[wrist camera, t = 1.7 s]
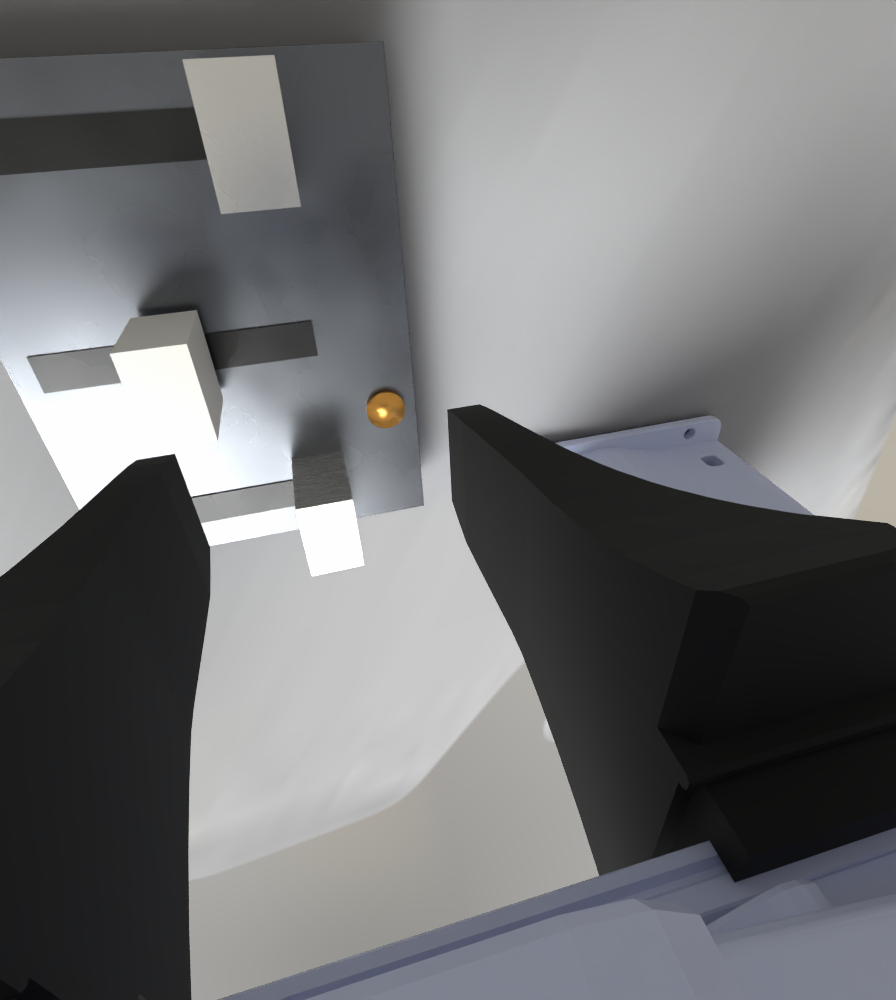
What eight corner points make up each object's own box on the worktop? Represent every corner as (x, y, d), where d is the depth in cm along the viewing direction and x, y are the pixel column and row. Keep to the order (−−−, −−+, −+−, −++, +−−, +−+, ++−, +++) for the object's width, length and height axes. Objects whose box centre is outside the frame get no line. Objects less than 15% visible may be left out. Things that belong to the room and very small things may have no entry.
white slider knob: (196, 309, 15) (186, 344, 13) (223, 398, 16) (217, 441, 14) (130, 318, 15) (110, 354, 13) (163, 407, 16) (149, 452, 14)
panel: (370, 46, 15) (407, 31, 11) (412, 475, 22) (443, 555, 18) (-103, 67, 13) (-256, 59, 9) (120, 528, 20) (87, 628, 17)
